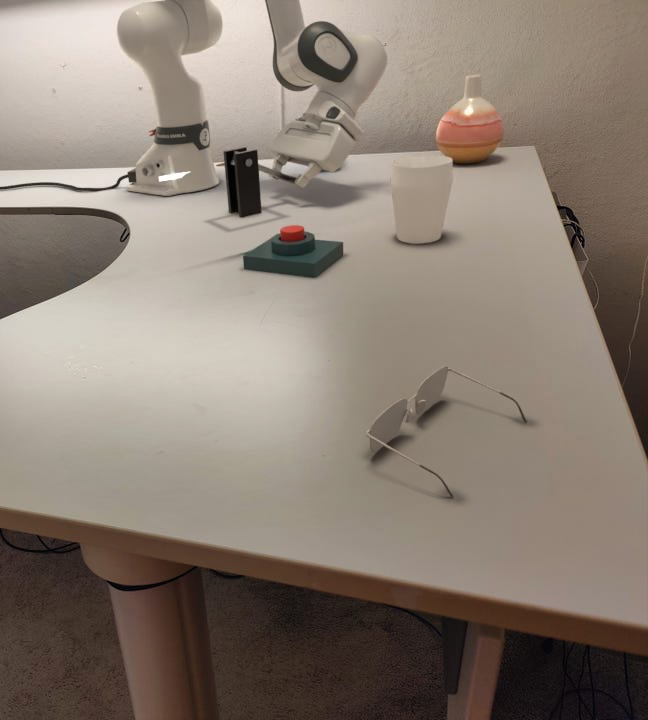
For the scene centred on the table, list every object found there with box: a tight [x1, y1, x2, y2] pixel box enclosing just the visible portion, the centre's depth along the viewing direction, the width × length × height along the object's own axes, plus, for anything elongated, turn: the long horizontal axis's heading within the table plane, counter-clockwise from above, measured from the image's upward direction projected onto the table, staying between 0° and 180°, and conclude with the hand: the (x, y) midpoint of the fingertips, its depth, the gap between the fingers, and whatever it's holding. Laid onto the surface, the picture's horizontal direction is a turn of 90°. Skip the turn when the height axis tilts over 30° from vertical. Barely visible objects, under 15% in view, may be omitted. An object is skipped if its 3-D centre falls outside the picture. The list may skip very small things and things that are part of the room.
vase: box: [435, 74, 505, 165], centre depth 144 cm, size 14×14×18 cm
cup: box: [390, 154, 454, 245], centre depth 103 cm, size 9×9×12 cm
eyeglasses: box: [365, 365, 528, 498], centre depth 57 cm, size 14×8×4 cm, turn 133°
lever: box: [230, 151, 298, 185], centre depth 124 cm, size 13×6×2 cm, turn 115°
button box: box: [242, 230, 344, 278], centre depth 102 cm, size 12×10×4 cm
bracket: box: [223, 146, 262, 219], centre depth 124 cm, size 12×9×13 cm
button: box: [279, 224, 305, 242], centre depth 101 cm, size 4×4×2 cm
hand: (285, 181), depth 127 cm, fingers open, 8 cm apart
